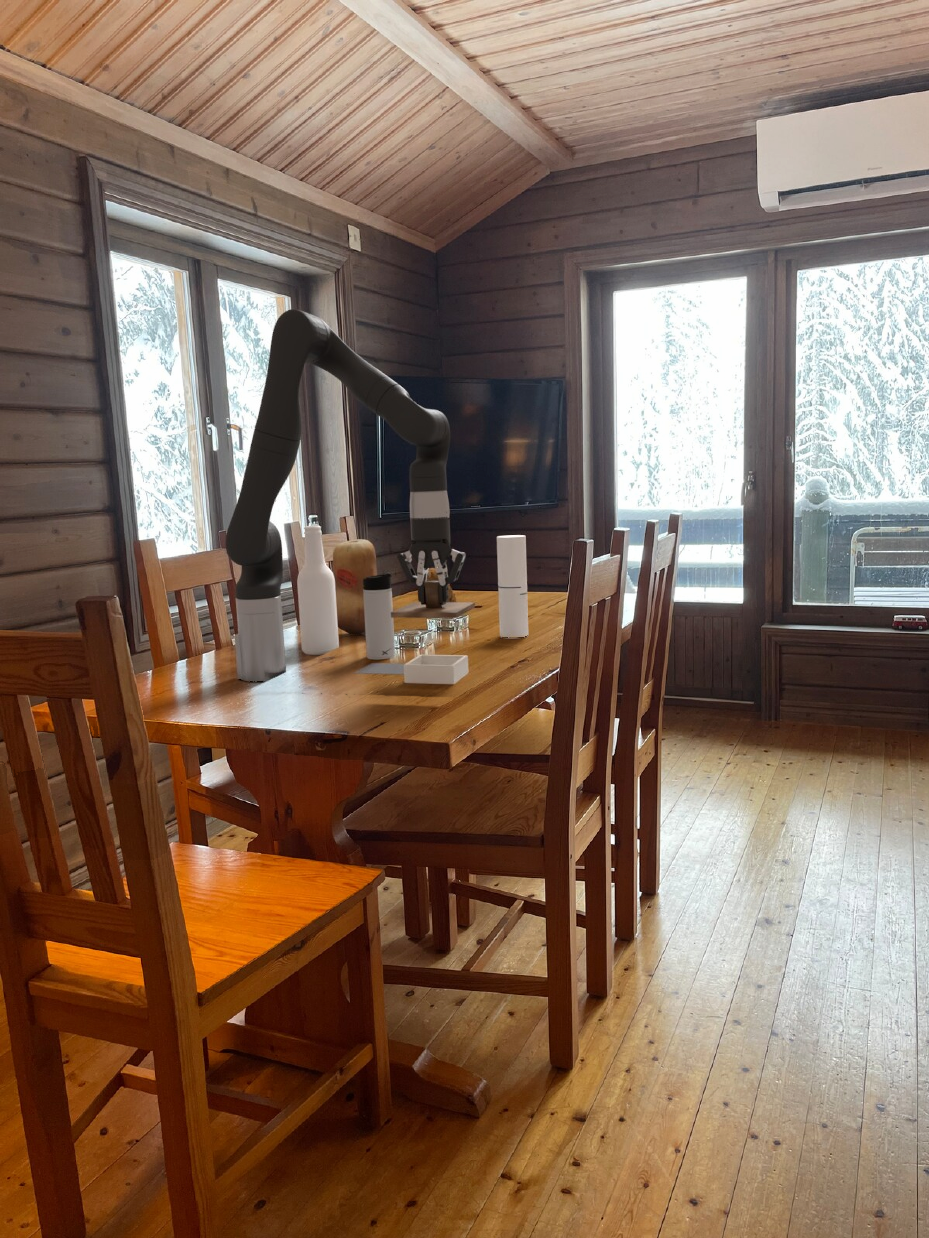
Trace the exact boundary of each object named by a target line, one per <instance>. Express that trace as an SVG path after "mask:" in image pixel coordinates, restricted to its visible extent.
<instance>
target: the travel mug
mask: <svg viewBox="0 0 929 1238" xmlns="http://www.w3.org/2000/svg"><path fill="white" fill-rule="evenodd" d="M393 575H394V574H393V572H388V573H385V574H384V573H382V574H377V575H376V576H370V577H366V579H363V585H364V586H363V592H364V593H363V596H364V614H365V632H366V634H365V648H366V656H367V657H366V658H367V659H369V660H388V659H392V658H395V657H396V650H395V648H396V647H395V630H394V629H395V627H394V618H391V612H393V611H394V609H393V592H392V589H393V588H392V585H391V584H392V577H393Z"/></svg>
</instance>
